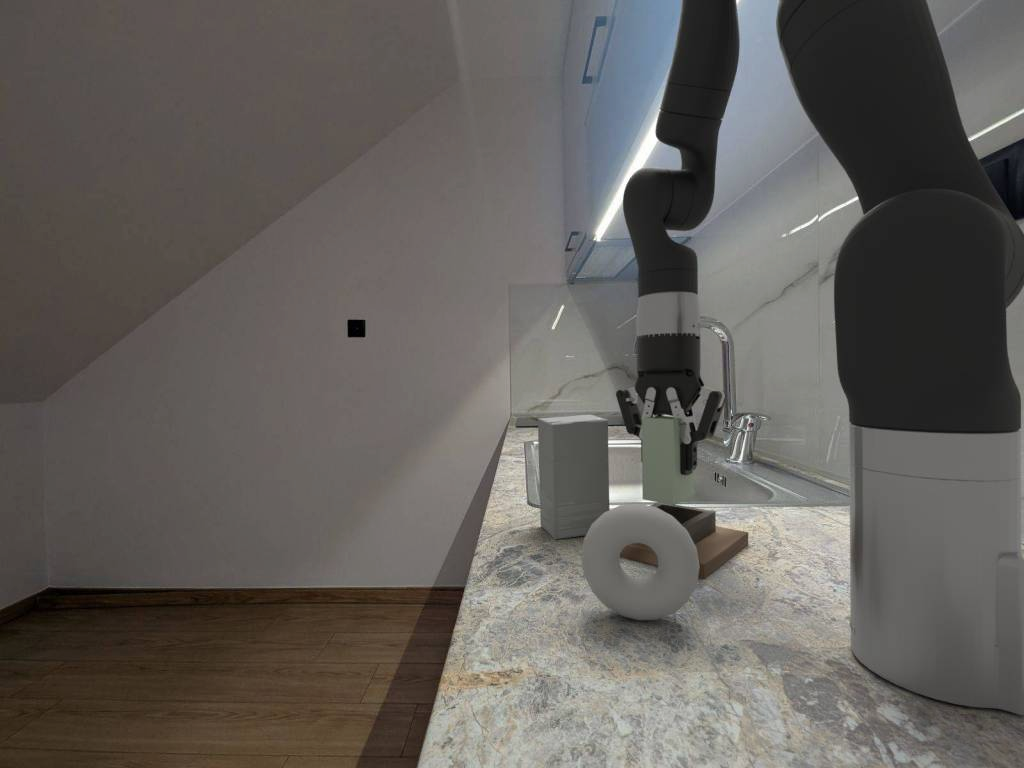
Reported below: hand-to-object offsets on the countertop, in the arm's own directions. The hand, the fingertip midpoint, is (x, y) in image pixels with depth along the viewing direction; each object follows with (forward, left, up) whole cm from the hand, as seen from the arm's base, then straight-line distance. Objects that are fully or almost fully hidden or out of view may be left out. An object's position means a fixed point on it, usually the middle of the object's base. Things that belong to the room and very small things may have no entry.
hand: (668, 471), depth 61 cm
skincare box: (+13, +3, -10) cm, 16 cm away
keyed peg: (0, 0, -3) cm, 3 cm away
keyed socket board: (0, 0, -9) cm, 9 cm away
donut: (-6, +19, -10) cm, 22 cm away
